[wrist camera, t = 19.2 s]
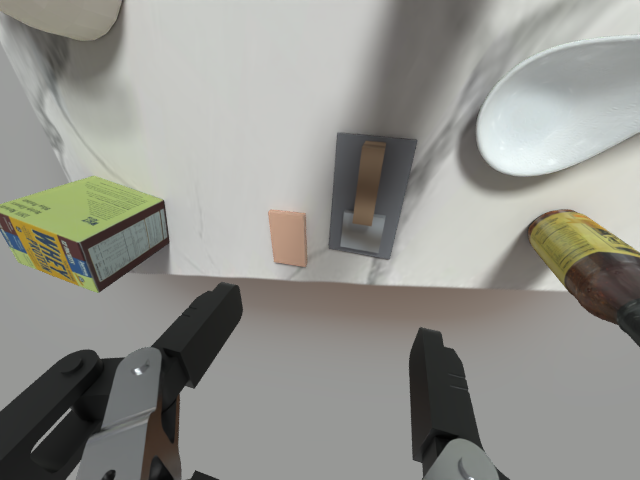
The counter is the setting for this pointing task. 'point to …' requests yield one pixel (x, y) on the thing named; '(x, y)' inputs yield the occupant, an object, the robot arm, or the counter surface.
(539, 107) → the spoon rest
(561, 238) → the sauce bottle
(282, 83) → the counter surface
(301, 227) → the tile
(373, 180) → the tall tan post
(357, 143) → the mat
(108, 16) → the kettle
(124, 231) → the protein box
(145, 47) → the counter surface
